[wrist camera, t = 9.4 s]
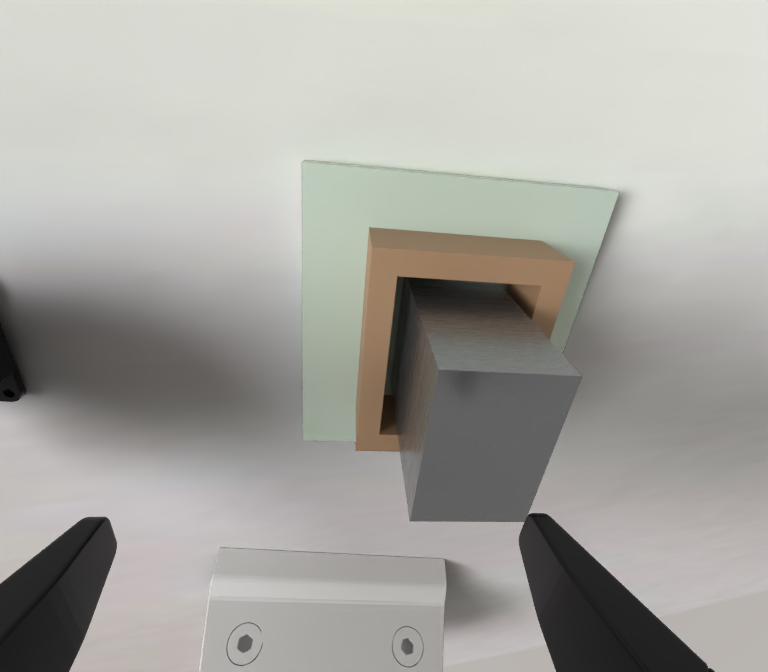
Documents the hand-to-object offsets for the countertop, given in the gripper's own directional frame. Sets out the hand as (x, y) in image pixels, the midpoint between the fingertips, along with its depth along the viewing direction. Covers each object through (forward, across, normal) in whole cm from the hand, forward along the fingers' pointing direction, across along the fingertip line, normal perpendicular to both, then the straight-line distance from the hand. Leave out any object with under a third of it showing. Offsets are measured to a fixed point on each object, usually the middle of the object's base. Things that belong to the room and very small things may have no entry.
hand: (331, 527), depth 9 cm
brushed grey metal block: (+11, -5, +1) cm, 12 cm away
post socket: (+12, -5, +1) cm, 13 cm away
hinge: (+12, 0, +23) cm, 26 cm away
